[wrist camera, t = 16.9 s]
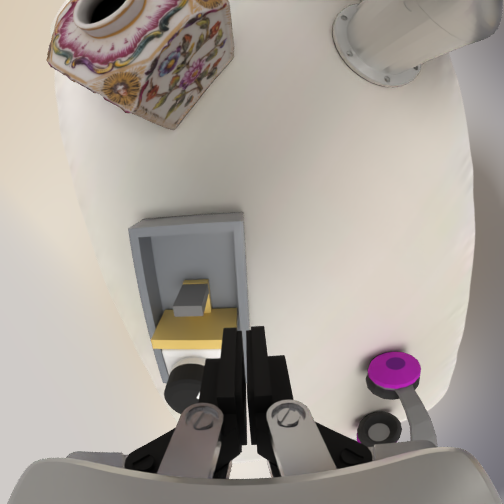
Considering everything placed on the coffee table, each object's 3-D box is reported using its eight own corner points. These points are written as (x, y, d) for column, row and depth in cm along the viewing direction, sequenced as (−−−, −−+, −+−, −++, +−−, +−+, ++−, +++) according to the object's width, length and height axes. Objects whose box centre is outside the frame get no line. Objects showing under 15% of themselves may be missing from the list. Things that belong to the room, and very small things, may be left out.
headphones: (359, 353, 40) (412, 454, 21) (408, 340, 40) (471, 425, 21) (350, 429, 46) (377, 509, 27) (389, 417, 46) (424, 491, 27)
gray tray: (143, 218, 33) (128, 228, 28) (243, 212, 33) (243, 220, 28) (170, 360, 39) (163, 382, 34) (251, 359, 39) (252, 383, 34)
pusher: (159, 281, 34) (142, 307, 27) (234, 278, 34) (232, 305, 27) (166, 317, 35) (153, 348, 29) (237, 316, 35) (236, 348, 29)
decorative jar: (174, 133, 30) (100, 108, 13) (105, 88, 27) (10, 50, 10) (238, 55, 27) (235, -36, 10) (164, 15, 25) (114, -67, 7)
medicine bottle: (183, 359, 38) (167, 423, 26) (173, 317, 36) (149, 379, 24) (233, 358, 38) (231, 424, 26) (227, 315, 36) (222, 379, 24)
